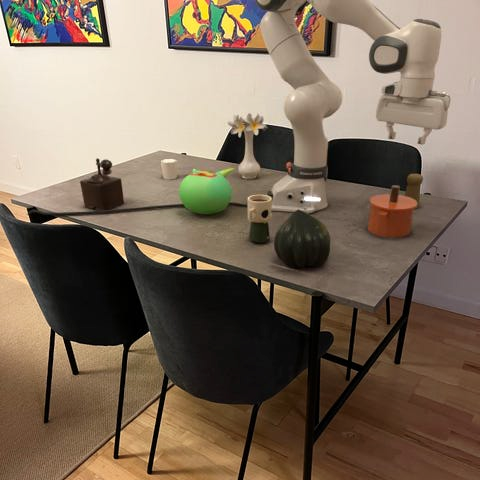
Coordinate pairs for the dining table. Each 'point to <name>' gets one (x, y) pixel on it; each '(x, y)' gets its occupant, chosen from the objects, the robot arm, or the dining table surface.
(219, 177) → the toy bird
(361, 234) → the dining table surface
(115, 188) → the coffee grinder
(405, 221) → the pot
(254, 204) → the character mug
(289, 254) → the squash
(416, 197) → the cork
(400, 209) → the lid
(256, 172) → the flower vase
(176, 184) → the dining table surface
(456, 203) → the dining table surface
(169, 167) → the white short cylinder
